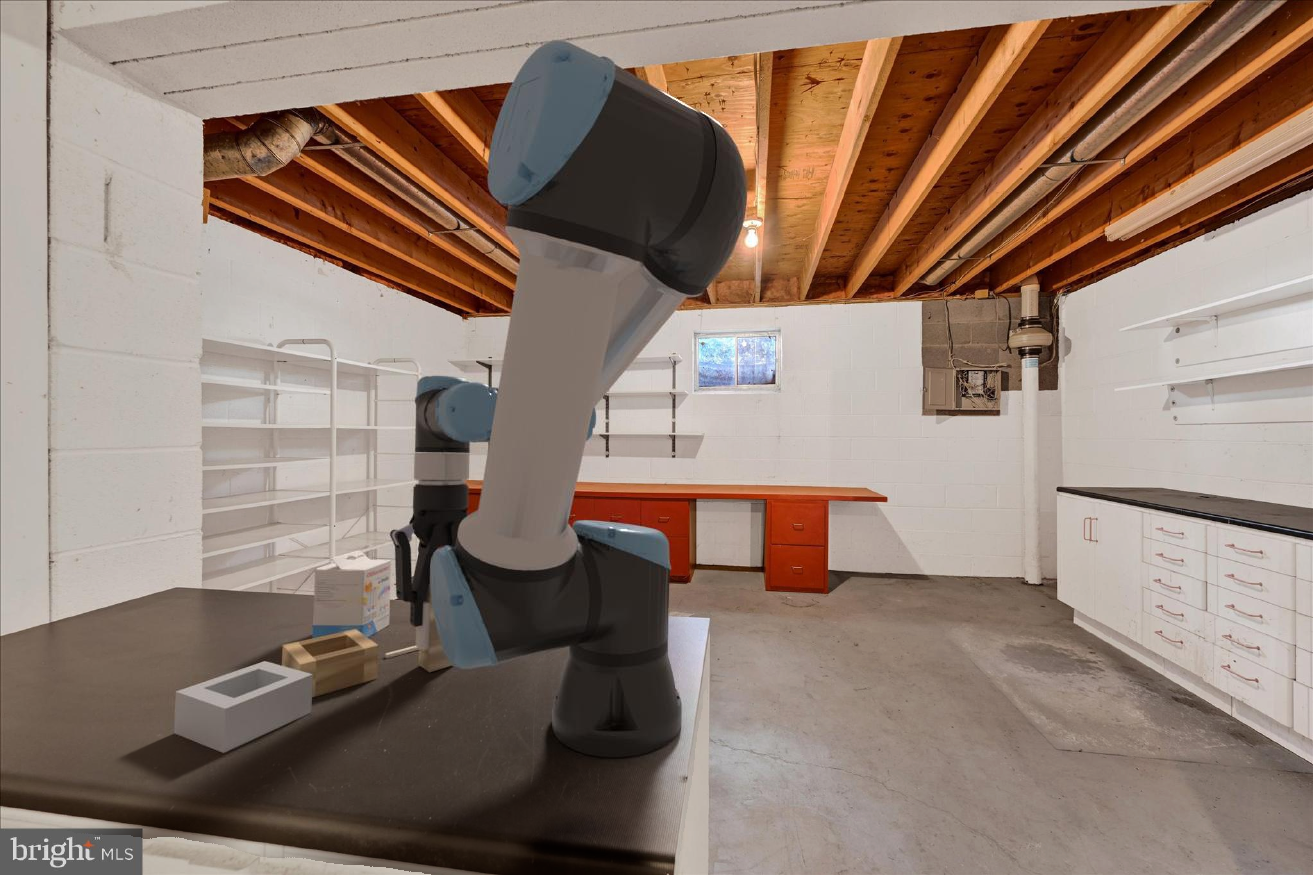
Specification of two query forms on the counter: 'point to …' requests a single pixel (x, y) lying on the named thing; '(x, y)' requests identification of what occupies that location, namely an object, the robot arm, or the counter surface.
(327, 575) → the ink box
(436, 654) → the red-banded tall box
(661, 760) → the counter surface
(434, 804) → the counter surface
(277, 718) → the grey square frame
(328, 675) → the wooden square frame
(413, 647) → the thin white stick
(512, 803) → the counter surface
